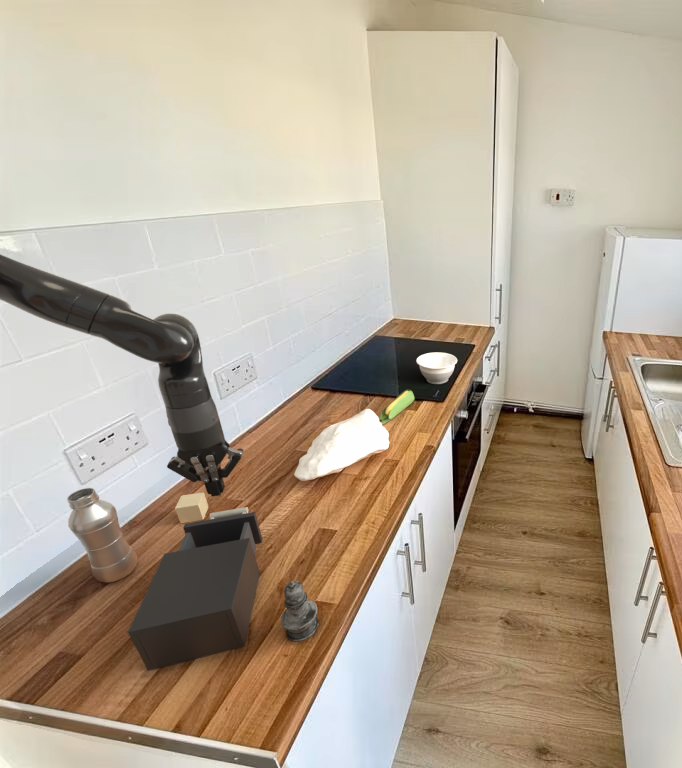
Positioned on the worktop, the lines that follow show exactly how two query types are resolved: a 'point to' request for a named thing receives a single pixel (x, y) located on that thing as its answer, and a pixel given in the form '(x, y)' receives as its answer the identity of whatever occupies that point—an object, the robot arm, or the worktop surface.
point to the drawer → (222, 529)
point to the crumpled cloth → (343, 446)
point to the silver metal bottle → (100, 536)
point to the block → (191, 507)
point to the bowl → (437, 366)
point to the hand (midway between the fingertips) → (217, 493)
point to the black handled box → (197, 604)
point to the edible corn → (397, 406)
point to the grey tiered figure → (298, 613)
